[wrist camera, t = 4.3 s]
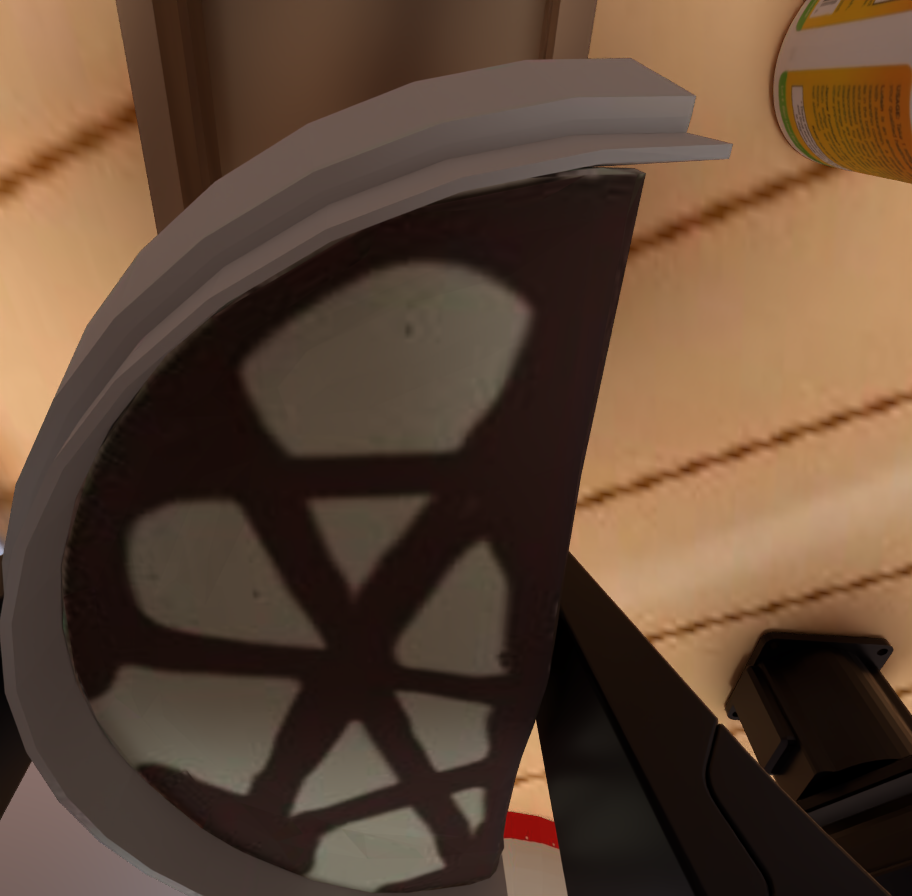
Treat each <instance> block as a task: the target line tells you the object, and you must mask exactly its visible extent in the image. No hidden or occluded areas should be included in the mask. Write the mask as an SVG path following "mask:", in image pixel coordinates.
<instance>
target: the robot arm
mask: <svg viewBox="0 0 912 896" xmlns="http://www.w3.org/2000/svg"><path fill="white" fill-rule="evenodd" d="M2 559H3V555H1V556H0V617H1V611H2V605H3V600H4V587H3V573H2ZM892 652H893V647H892V646H891V645H890V643H889V642H888V641H887V640H886V639H878V638H862V637H845V636H829V635H812V634H795V633H779V632H770V633H767V634H765V635H763V636H762V637H761V638H760V640H759V642H758V644H757V646H756V648H755V650H754V652H753V654H752V656H751V658H750V660H749V662H748V664H747V666H746V668H745V670H744V671H743V673H742V675H741V677H740V679H739V681H738V683H737V685H736V687H735V689H734V691H733V693H732V695H731V697H730V699H729V701H728V703H727V704H726V706H725V711H726V713H727V716H728V717H729V718H730V719H733V720H740V722H741V724H742V726H743V728H744V731H745V733H746V735H747V737H748V740H749V742H750V744H751V746H752V749H753V751H754V753H755V755H756V758H757V760H758V762H759V763H758V762H757V761H756V760H755V759H754V758H753V757H752V756H751V755H750V754H749V753H748V752H747V751H746V749H745V748H744V747H743V746H742V745H741V744H740V743H739V742H738V740H737V739H736V738H735V737H734V736H733V735H732V734H731V733H730V731H729V730H728V729H727V728H726V727H725V726H724V725H723V724H718V718H717V717H716V716H715V715H714V714H713V713H712V712H711V710H710V709H709V708H708V707H707V706H706V705H705V704H704V703H703V701H702V700H701V699H700V698H699V697H698V696H697V695H696V694H695V692H694V691H693V690H692V689H691V688H690V687H689V686H688V685H687V683H686V682H685V681H684V680H683V679H682V678H681V677H680V676H679V674H678V673H677V672H676V671H675V670H674V669H673V668H672V667H671V665H670V664H669V663H668V662H667V661H666V660H665V659H664V658H663V656H662V655H661V654H660V653H659V652H658V651H657V650H656V649H655V647H654V646H653V645H652V644H651V643H650V642H649V641H648V640H647V638H646V637H645V636H644V635H643V634H642V633H641V632H640V631H639V629H638V628H637V627H636V626H635V625H634V624H633V623H632V622H631V620H630V619H629V618H628V617H627V616H626V615H625V614H624V613H623V611H622V610H621V609H620V608H619V607H618V606H617V605H616V604H615V602H614V601H613V600H612V599H611V598H610V597H609V596H608V595H607V593H606V592H605V591H604V590H603V589H602V588H601V587H600V586H599V584H598V583H597V582H596V581H595V580H594V579H593V578H592V577H591V575H590V574H589V573H588V572H587V571H586V570H585V569H584V568H583V566H582V565H581V564H580V563H579V562H578V561H577V560H576V559H575V557H574V556H573V555H572V554H571V553H570V552H569V551H568V556H567V562H566V568H565V574H564V580H563V588H562V596H561V603H560V611H559V618H558V625H557V631H556V638H555V644H554V650H553V656H552V663H551V669H550V675H549V679H548V683H547V686H546V690H545V692H544V695H543V698H542V701H541V704H540V707H539V711H538V714H537V717H536V722H537V728H538V733H539V739H540V745H541V750H542V756H543V761H544V767H545V773H546V778H547V784H548V789H549V795H550V800H551V806H552V812H553V817H554V823H555V828H556V834H557V839H558V845H559V851H560V856H561V862H562V867H563V873H564V878H565V884H566V890H567V895H568V896H912V715H911V713H910V712H909V711H908V709H907V708H906V706H905V705H904V704H903V702H902V701H901V700H900V698H899V697H898V695H897V694H896V693H895V691H894V690H893V688H892V687H891V686H890V684H889V683H888V681H887V680H886V679H885V677H884V676H883V675H882V673H881V672H880V669H881V668H882V667H883V665H884V664H885V662H886V661H887V659H888V658H889V657H890V655H891V654H892ZM31 762H32V760H31V759H30V757H29V756H28V754H27V752H26V750H25V747H24V745H23V742H22V739H21V736H20V734H19V731H18V728H17V725H16V722H15V720H14V717H13V714H12V711H11V709H10V706H9V703H8V700H7V698H6V695H5V689H4V677H3V666H2V654H1V642H0V820H1V818H2V816H3V814H4V812H5V810H6V808H7V806H8V805H9V803H10V801H11V799H12V797H13V795H14V793H15V791H16V790H17V788H18V786H19V784H20V782H21V780H22V778H23V777H24V775H25V773H26V771H27V769H28V767H29V765H30V763H31ZM759 764H760V765H759ZM770 775H773V777H774V779H775V781H776V782H775V781H774V780H773V779H772V777H771V776H770Z"/></svg>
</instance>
